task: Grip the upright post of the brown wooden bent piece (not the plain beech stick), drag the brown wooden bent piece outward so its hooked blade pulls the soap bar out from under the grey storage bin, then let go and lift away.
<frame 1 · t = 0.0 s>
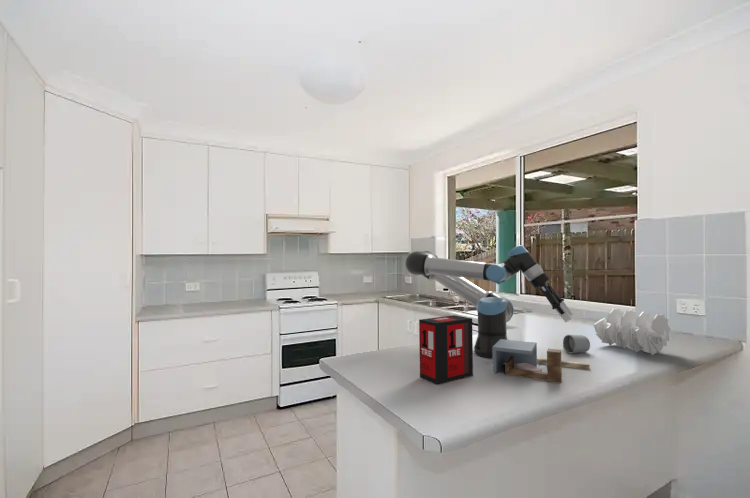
hand: (569, 318, 158), 15 cm above the counter, tool tilted 35°, fingers open, 13 cm apart
spiral staircase: (632, 350, 165), on the counter
brown wooden bent piece: (554, 380, 126), on the counter
grey storage bin: (515, 369, 138), on the counter
cleaning product box: (446, 377, 131), on the counter
soap bar: (527, 373, 136), on the counter
ceramic mug: (574, 352, 163), on the counter
stick: (562, 366, 143), on the counter
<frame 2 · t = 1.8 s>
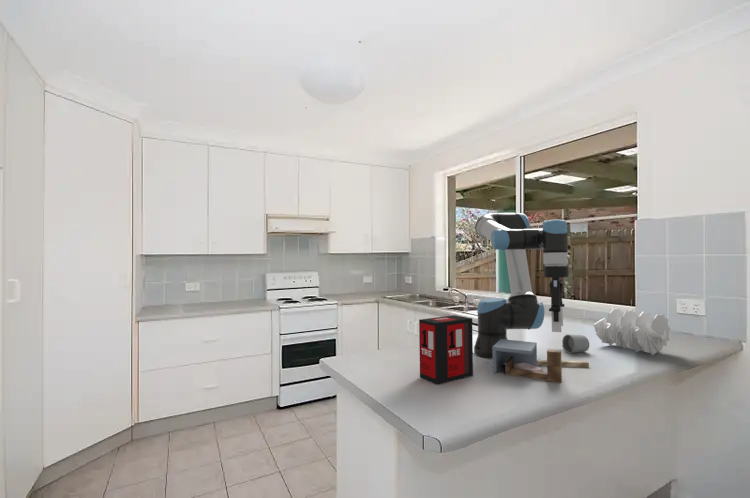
hand: (557, 328, 127), 17 cm above the counter, tool pointing down, fingers open, 13 cm apart
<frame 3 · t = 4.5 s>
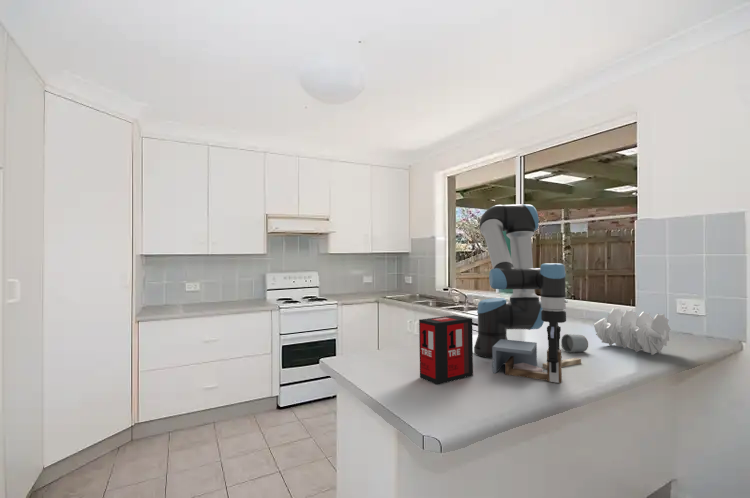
hand: (554, 379, 126), 0 cm above the counter, tool pointing down, fingers closed on brown wooden bent piece, 4 cm apart
brown wooden bent piece: (554, 380, 126), on the counter, touching gripper
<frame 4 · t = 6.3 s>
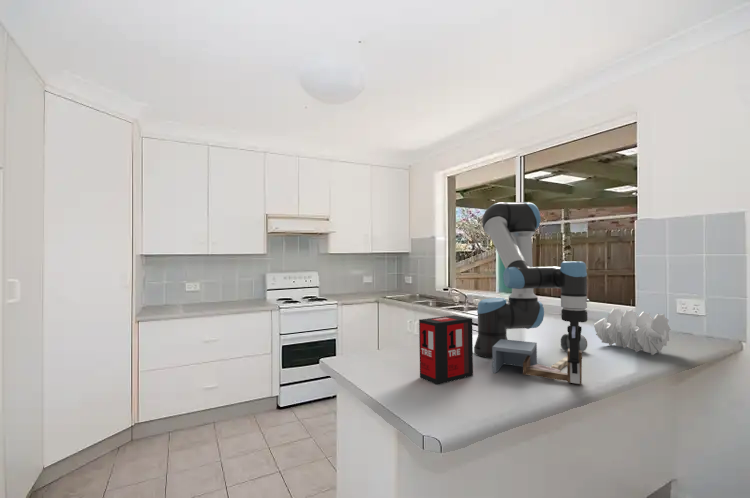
hand: (575, 380, 123), 1 cm above the counter, tool pointing down, fingers closed on brown wooden bent piece, 4 cm apart
brown wooden bent piece: (574, 381, 123), point 1 cm above the counter, touching gripper
soap bar: (544, 375, 133), on the counter
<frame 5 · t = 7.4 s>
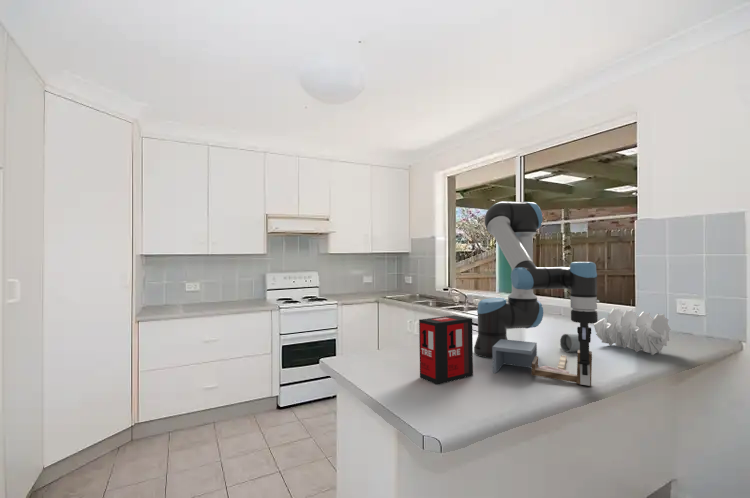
hand: (585, 382, 122), 1 cm above the counter, tool pointing down, fingers closed on brown wooden bent piece, 4 cm apart
brown wooden bent piece: (583, 382, 122), point 1 cm above the counter, touching gripper
soap bar: (553, 376, 132), on the counter
when the fingers open (1 cm above the counter, at t = 8.0 s): brown wooden bent piece stays where it is, on the counter.
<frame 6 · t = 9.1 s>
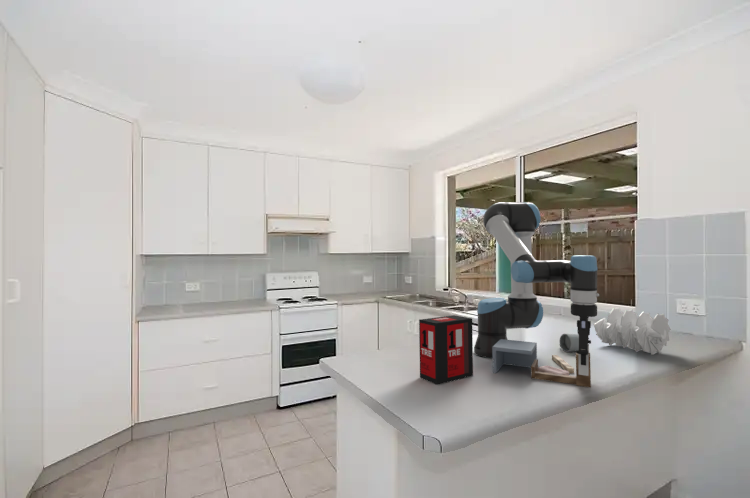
hand: (584, 368, 122), 5 cm above the counter, tool pointing down, fingers open, 13 cm apart
brown wooden bent piece: (583, 384, 122), on the counter
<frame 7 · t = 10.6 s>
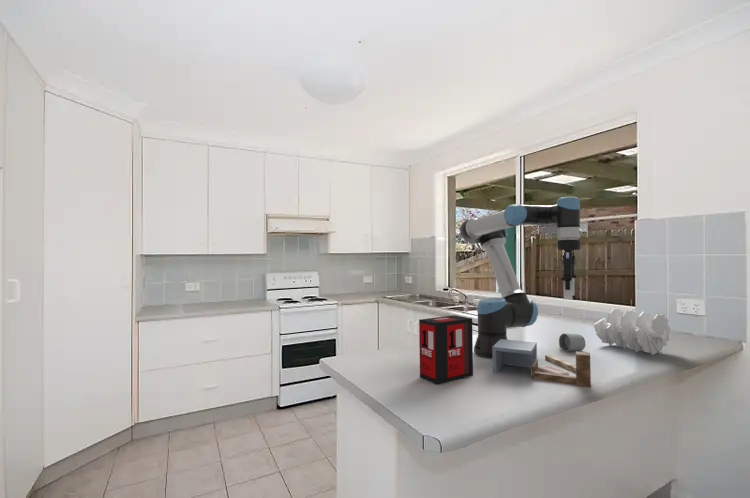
hand: (569, 297, 139), 26 cm above the counter, tool pointing down, fingers open, 13 cm apart
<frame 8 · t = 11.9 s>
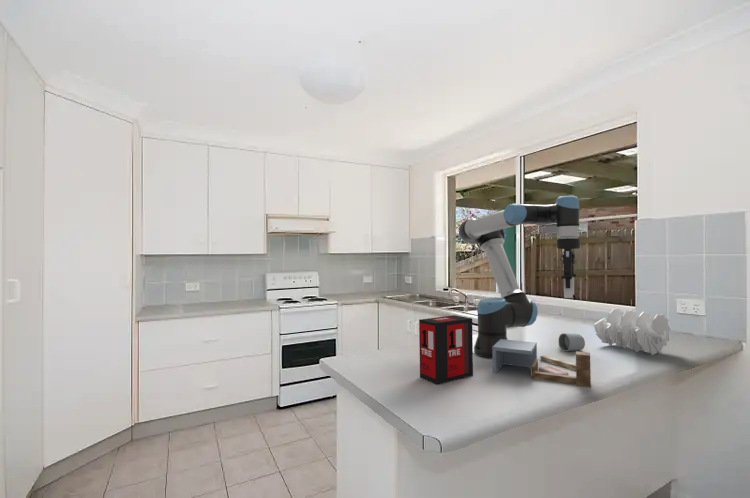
hand: (569, 295, 139), 27 cm above the counter, tool pointing down, fingers open, 13 cm apart
at the end: soap bar inside the target area (7.0 cm from its centre), on the counter; soap bar moved 8.2 cm from its start; the gripper is holding nothing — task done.
